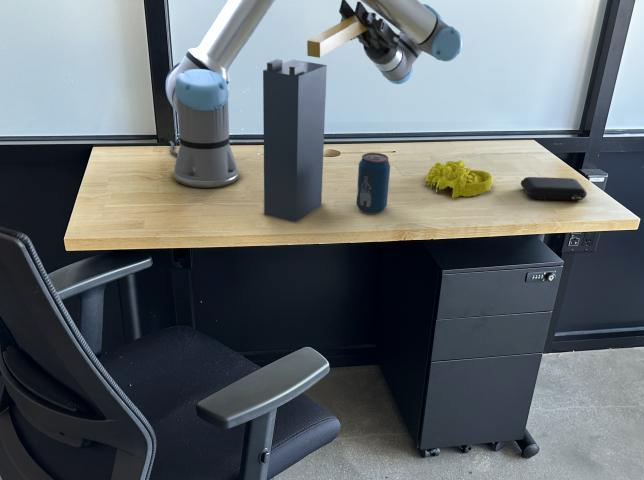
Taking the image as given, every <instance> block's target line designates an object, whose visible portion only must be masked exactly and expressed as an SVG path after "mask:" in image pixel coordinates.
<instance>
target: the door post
mask: <svg viewBox="0 0 644 480" xmlns="http://www.w3.org/2000/svg"><path fill="white" fill-rule="evenodd" d="M327 69H328V67H327V64H322V63H316V62H310V61H303V60H298V59H290V60H287V61H285V62H283V59H279V58H277V59H274V60H272V61H268V62H266V68H265V69H263V70H262V100H263V101H262V103H263V104H262V105H263V106H262V107H263V109H262V110H263V111H262V112H263V113H262V114H263V117H262V118H263V119H262V120H263V122H262V123H263V215H264V216H268V217H271V218H276V219H281V220H285V221H289V222H293V223H298V222H299V221H300V220H302V219H303V218H304V217H306V216H307V215H309V214H310V213H311V212H314V211H315V210H316V209H318V208H319V207H320V206H322V200H323V199H322V197H323V196H322V195H323V175H324V173H323V170H324V149H325V148H324V145H325V124H326V123H325V119H326V96H327V95H326V94H327Z"/></svg>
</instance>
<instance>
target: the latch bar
mask: <svg viewBox="0 0 644 480" xmlns="http://www.w3.org/2000/svg"><path fill="white" fill-rule="evenodd" d="M368 12H369V11H368ZM369 13H370V14H371V13H372V12H369ZM366 30H368V25H367V27H364V26H363V25H362V24H361V22H360V21H359V20H358V18H357V17H356V16H355V15H353V16H352V17H350V18H348V19H346V20H344V21H342V22H341V23H340V22H339V23H337V24H335V25H333V26H331V27H330V28H328V29H326V30H324V31H322V32H320V33H319V34H317V35H315V36H313V37H312V38H309V39H308V40H307V41H306V46H307V47H306V51H307V56H308V57H312V58H319V59H320V58H322V57H324V56H326V55H328V54H329V53H331V52H332V51H334V50H336V49H337V48H339V47H341V46H342V45H344V44H346V43H347V42H349V41H352V40H354V39H353V38H354V37H356V36H358V35H359V34H361V33H363V32H364V31H366ZM351 39H352V40H351Z"/></svg>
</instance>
